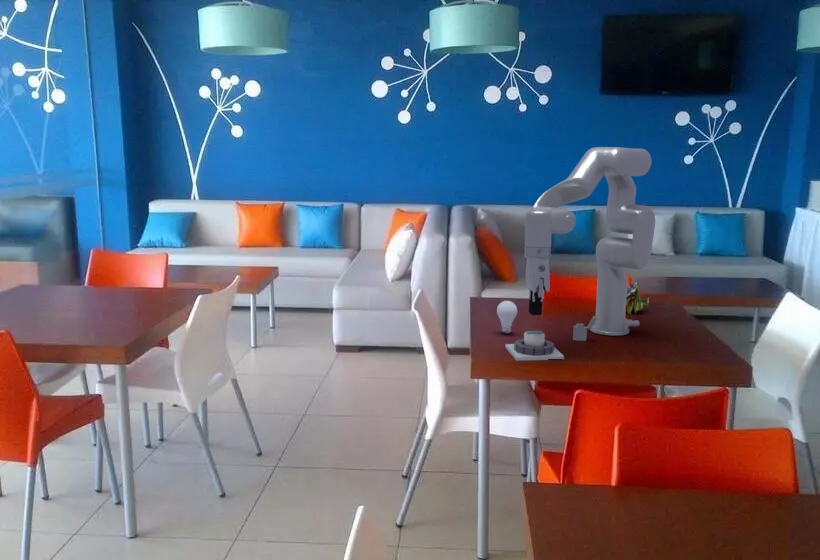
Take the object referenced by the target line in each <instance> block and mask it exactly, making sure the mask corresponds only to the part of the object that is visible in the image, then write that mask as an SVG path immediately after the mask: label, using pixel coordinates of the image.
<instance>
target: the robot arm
mask: <svg viewBox="0 0 820 560" xmlns="http://www.w3.org/2000/svg"><path fill="white" fill-rule="evenodd" d="M651 166H652V157H651V155H650V152H648V150H646V149H645V148H630V147H620V146H618V147H617V146H614V147H613V146H612V147H611V146H597V147H596V146H595V147H591V148H589V149H588V150H587V151H586V152H585V153H584V155H582V157H581V159H580V160H579V162H578V163H577V164H576V166H575V167H574V169H573V170H572V171H571V173H570V174H569V176H568V177H567V178H566V179H563V180H562V181H560V182H558V183H557V184H555V185H554V186H552V187H550V188H549V189H547V190H546V191H544V192H543V193H542V194H541V195H540V196H539V197H538V198H537V200H536V201H535V203H534V204H533V206H532V207H531V209H529V210H527V212H526V213H525V223H524V224H525V225H524V227H525V228H524V231H525V232H524V254H523V255H524V258H526V265H525V287H526V288H527V289H528V290H529V292H528V293H529V294H528V295H529V296H528V297H529V298H528V299H529V301H528V313H529V314H530V315H531V316H542V314H543V298H544V292H546V293H549V292H550V290H551V289H550V285H551V284H550V282H551V281H550V277H551V276H550V274H551V273H550V260H549V259H551V256H552V255H551V254H552V253H551V252H552V234H558V235H565V234H568V233H570V232H571V231H573V229H574V228H575V226H576V222H577V220H576V219H577V218H576V216H575V214H574V212H573V211H572V210H570V209H568V208H562V206H564V205H567V204H570V203H574V202H578V201H581V200H584V199H586V198H588V197H589V196H590V195H592V193H593V192H594V191H595V189H596V187H597V186H598V184H599V182H601V180H602V178H603V177H605V180H606V181H607V185H608V196H607V203H606V204H607V205H606V211H605V220H604V223H605V228H606V229H607V230H608V231H609V232H612V233H616V234H624V235H625V234H626V235H632V238H628V237H621V236H605V237H603V238H601V239H600V240H599V241H598V242H597V244H596V247H595V257H596V266H597V280H596V281H597V285H596V302H595V304H596V305H595V317H597V320H596V322H595V323H594V325H593V327H592V329H591V330H590V331H591V333H594V334H598V335H603V336H611V337H613V336H617V337H618V336H619V337H620V336H624V335H628V334H629V333H630V327H640V321H639V320H633V319H628V318H627V317H626V312H627V304H626V296H627V287H628V276H627V273H626V272H625V269H632V270H643V269H644V268H646V267H647V266H648V265H649V262H650V259H651V254H652V248H653V242H654V237H655V235H654V234H655V228H656V216H655V213H654V210H653V209H652V208H651V207H649V206H647V205H643V204H636V196H637V187H636V184H635V182H634V179H633V178H632V177H642V176H645V175H647V173H648V172H649V170H650V169H651ZM624 268H625V269H624Z"/></svg>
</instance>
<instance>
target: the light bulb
mask: <svg viewBox="0 0 820 560" xmlns="http://www.w3.org/2000/svg"><path fill="white" fill-rule="evenodd" d="M517 313H518V308H517V305H516V304H515V303H514V302H513V301H510V300H503V301H501V302H500V303H499V304H498V305H497V308H496V315H497V317H498V318H499V320H500V323H501V324H500V325H501V331H502V333H503V334H506V335H507V334H510V333H511V332H512V328H511V327H512V326H513V322H514V319H515V318H516V317H517Z"/></svg>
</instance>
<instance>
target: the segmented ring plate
mask: <svg viewBox="0 0 820 560" xmlns="http://www.w3.org/2000/svg"><path fill="white" fill-rule="evenodd" d="M505 349H506V350H507V351H508V352H509V354H510V355H511V356H512V357H513V358H514V360H515V361H516V362H517V361H518V362H519V361H549V360H548V359H562V360H565V355H564V354H563V353H561V352H560V350H558V349H557V348H556V347H555V343H553V341H550V340H547V339H545V342H544V346H543V347H530V346H525V345H524V338H520V339H516V340H515V341H514V342H513V343H505Z"/></svg>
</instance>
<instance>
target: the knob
mask: <svg viewBox="0 0 820 560" xmlns="http://www.w3.org/2000/svg"><path fill="white" fill-rule="evenodd" d="M523 333H524V334H523V339H524V345H525V346H530V347H543V346H544V342H545V340H546V338H545V337H546V333H545V332H543V331H542V330H527V331H525V332H523Z"/></svg>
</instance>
